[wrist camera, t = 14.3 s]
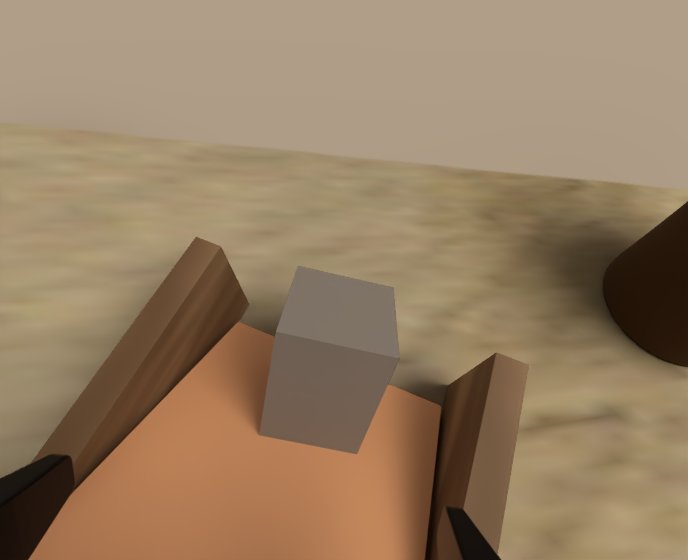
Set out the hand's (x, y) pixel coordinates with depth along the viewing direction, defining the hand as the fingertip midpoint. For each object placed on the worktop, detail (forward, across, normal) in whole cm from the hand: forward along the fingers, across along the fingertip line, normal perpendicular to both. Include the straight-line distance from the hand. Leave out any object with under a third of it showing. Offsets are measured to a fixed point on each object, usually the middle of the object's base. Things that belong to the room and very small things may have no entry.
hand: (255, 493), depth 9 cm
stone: (+10, 0, +5) cm, 12 cm away
